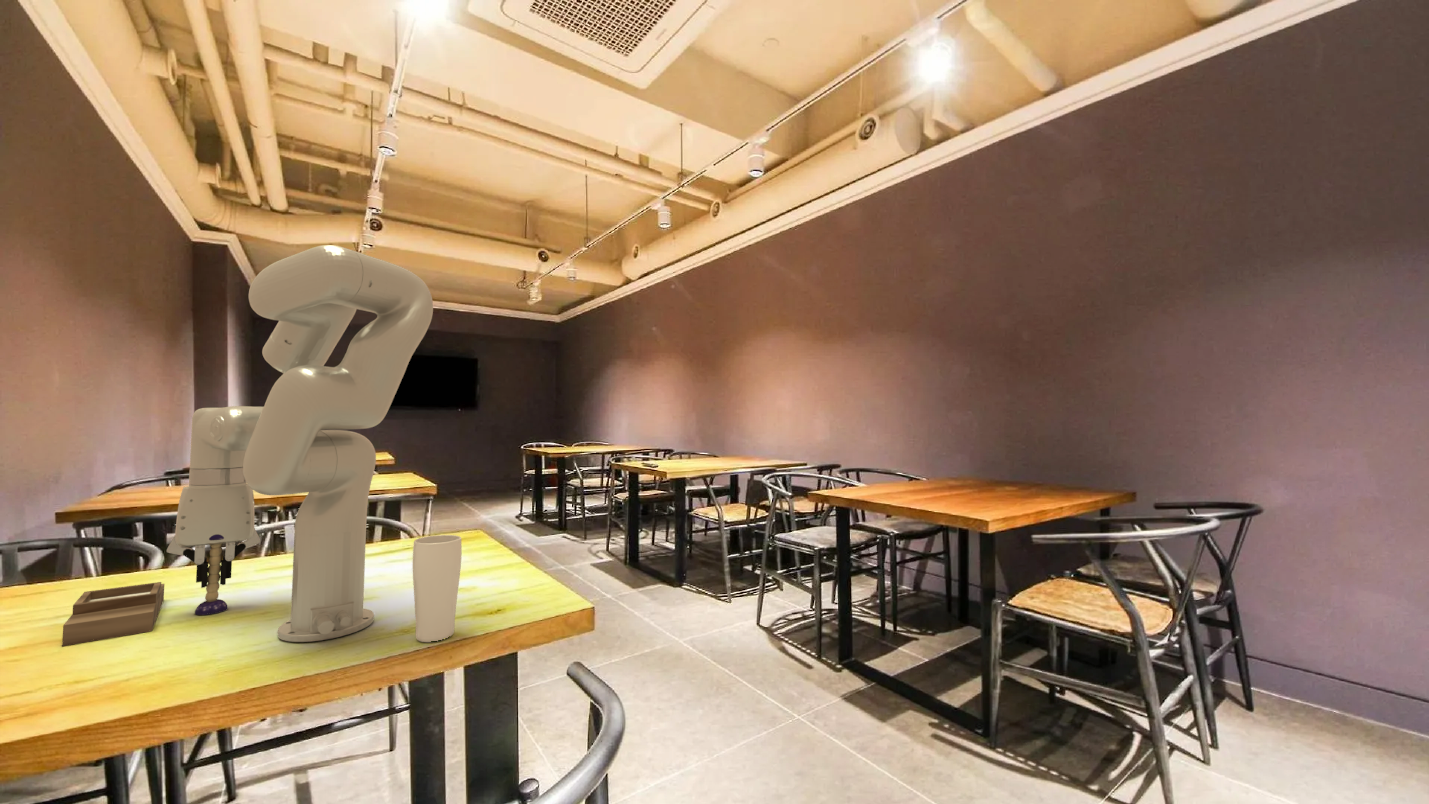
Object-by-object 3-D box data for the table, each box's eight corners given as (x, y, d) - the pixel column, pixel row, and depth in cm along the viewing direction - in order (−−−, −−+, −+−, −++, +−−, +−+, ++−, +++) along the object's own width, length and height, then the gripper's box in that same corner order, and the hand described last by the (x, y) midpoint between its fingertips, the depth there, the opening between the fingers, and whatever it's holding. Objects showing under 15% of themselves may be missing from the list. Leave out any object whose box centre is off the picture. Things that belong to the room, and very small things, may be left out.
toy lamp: (235, 605, 98) (239, 511, 99) (225, 613, 94) (228, 515, 95) (201, 609, 96) (205, 513, 97) (188, 617, 92) (192, 517, 93)
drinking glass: (467, 629, 88) (470, 535, 88) (442, 646, 81) (445, 544, 82) (428, 628, 88) (430, 534, 89) (399, 644, 82) (403, 542, 82)
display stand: (152, 631, 86) (153, 601, 86) (61, 646, 80) (63, 614, 80) (163, 600, 101) (164, 575, 101) (88, 610, 95) (90, 584, 95)
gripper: (275, 474, 104) (270, 572, 103) (156, 479, 94) (151, 588, 93) (277, 477, 99) (273, 581, 98) (152, 482, 88) (145, 599, 87)
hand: (213, 583), depth 95 cm, fingers closed on toy lamp
